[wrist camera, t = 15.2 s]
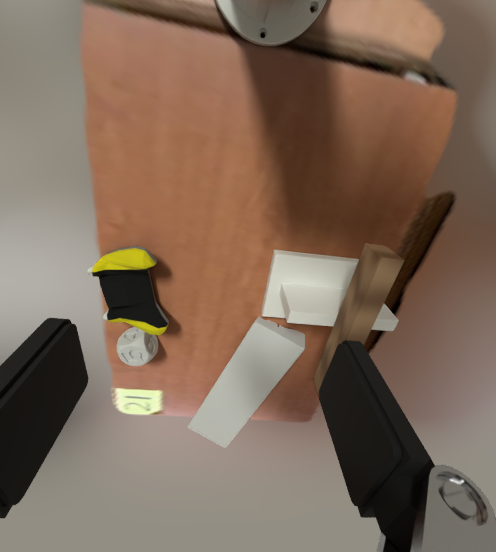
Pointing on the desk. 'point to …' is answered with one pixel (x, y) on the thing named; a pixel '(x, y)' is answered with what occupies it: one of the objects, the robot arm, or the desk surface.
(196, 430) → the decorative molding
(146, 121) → the desk surface
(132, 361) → the die
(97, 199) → the desk surface
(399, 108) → the desk surface
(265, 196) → the desk surface
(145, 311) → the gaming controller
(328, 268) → the stand
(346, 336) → the walnut batten
